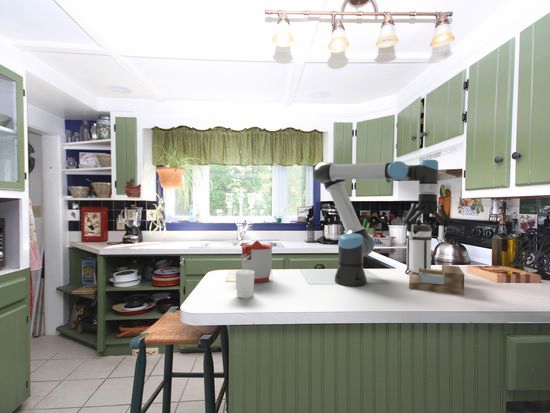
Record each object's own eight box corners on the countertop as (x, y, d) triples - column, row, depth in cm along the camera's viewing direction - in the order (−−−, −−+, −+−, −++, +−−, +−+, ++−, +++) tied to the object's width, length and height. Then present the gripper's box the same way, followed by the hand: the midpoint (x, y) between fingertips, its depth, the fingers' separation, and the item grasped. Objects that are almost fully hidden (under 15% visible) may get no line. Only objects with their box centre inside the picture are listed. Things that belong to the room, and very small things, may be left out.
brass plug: (418, 276, 136) (418, 268, 136) (418, 274, 140) (418, 267, 140) (445, 279, 131) (445, 271, 131) (444, 277, 135) (444, 269, 135)
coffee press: (441, 277, 147) (442, 220, 147) (411, 277, 147) (411, 220, 147) (424, 269, 164) (425, 218, 164) (397, 269, 164) (397, 218, 164)
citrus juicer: (232, 281, 138) (232, 240, 138) (256, 274, 151) (256, 237, 151) (254, 287, 128) (254, 244, 128) (278, 279, 141) (278, 240, 141)
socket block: (409, 288, 127) (409, 268, 127) (409, 279, 142) (409, 262, 142) (464, 295, 118) (464, 274, 118) (458, 284, 133) (458, 266, 133)
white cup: (239, 300, 111) (239, 275, 111) (232, 294, 118) (233, 270, 118) (257, 297, 115) (257, 272, 115) (250, 291, 122) (250, 268, 122)
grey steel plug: (418, 282, 126) (419, 273, 126) (418, 279, 130) (418, 271, 130) (447, 285, 121) (447, 276, 121) (446, 283, 125) (446, 274, 125)
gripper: (403, 192, 126) (401, 239, 126) (460, 194, 124) (458, 241, 125) (397, 193, 133) (395, 237, 134) (450, 194, 132) (448, 239, 133)
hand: (425, 239), depth 129 cm, fingers open, 13 cm apart
